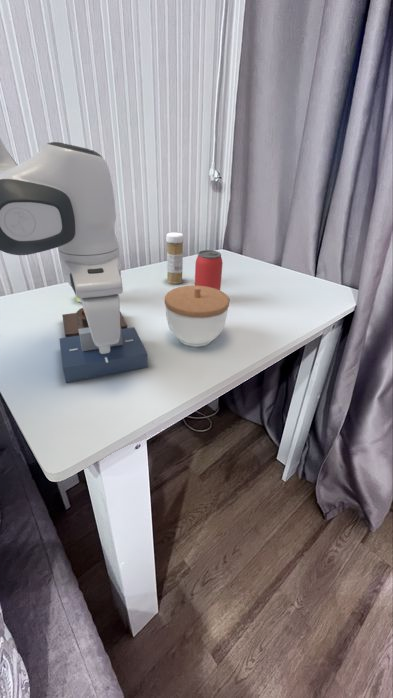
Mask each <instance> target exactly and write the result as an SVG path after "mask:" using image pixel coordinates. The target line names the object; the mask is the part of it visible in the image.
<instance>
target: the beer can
mask: <svg viewBox="0 0 393 698" xmlns="http://www.w3.org/2000/svg"><path fill="white" fill-rule="evenodd" d="M223 264H224V263H223V258H222V253H221V252H219V251H216V250H211V249H205V250H200V251H198V253H197V257H196V260H195V269H194V286H206V287H211V288H215V289H218V290H220V291H221V287H222V273H223Z"/></svg>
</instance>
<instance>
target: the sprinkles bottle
mask: <svg viewBox="0 0 393 698" xmlns="http://www.w3.org/2000/svg"><path fill="white" fill-rule="evenodd" d="M165 239H166V271H167V273H166V274H167V275H166V276H167V277H166V278H167V279H166V282H167V283H168V284H171V285H179V284H182V283H183V282H184V281H183V280H184V279H183V271H184V270H183V269H184V267H183V265H184V263H183V261H184V255H183V254H184V253H183V252H184V251H183V248H184V233H181V232H175V231H172V232H168V233H166V235H165Z"/></svg>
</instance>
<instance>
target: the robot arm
mask: <svg viewBox="0 0 393 698" xmlns="http://www.w3.org/2000/svg"><path fill="white" fill-rule="evenodd" d="M116 219H117V209H116V201H115V193H114V187H113V181H112V176H111V172H110V169H109V165H108V163H107V161H106V160H105V158H104V157H103V156H102V155H101V154H99V152H97V151H95V150H93V149H89V148H86V147H81V146H77V145H73V144H70V143H69V144H68V143H64V142H59V141H51V142H47V143H46V144H45V145H44V146H43V148H41V150H39V151H38V152H37V153H35V154H34V155H33V156H31V157H29V158H28V159H26V160H24V161H22V162H21V163H19V164H18V163H17V162H16V161H15V160H14V159H13V157H12V156H11V154H10V153H9V151H8V150H7V148H6V146H5V144H4V142H3V141H2V138H1V137H0V251H1V252H3V253H6V254H8V255H14V256H29V255H34V254H37V253H42V252H46V251H50V250H53V249H56V248H57V251H58V257H59V263H60V268H61V272H62V278H63V280H64V281H65V282H66V283H68V285H69V286H70V287H71V289H72V290H73V293H74V295H75V294H76V296H75V298H76V297H77V298H79V299H80V301H81V302H80V303H81V306H82V308H83V309H84V312H85V315H86V319H87V322H88V326H89V329H90V333H91V336H92V339H93V342H94V344H95V346H97V347H98V348H99V352H100V354H105V353H109V352H110V345H113V344H117V343H118V342H119V338H120V312H121V303H120V295H122V294H123V292H124V288H123V281H122V279H123V278H122V269H121V258H120V257H121V256H120V247H119V241H118V239H117V236H116V230H115V229H116V227H115V225H116Z"/></svg>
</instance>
